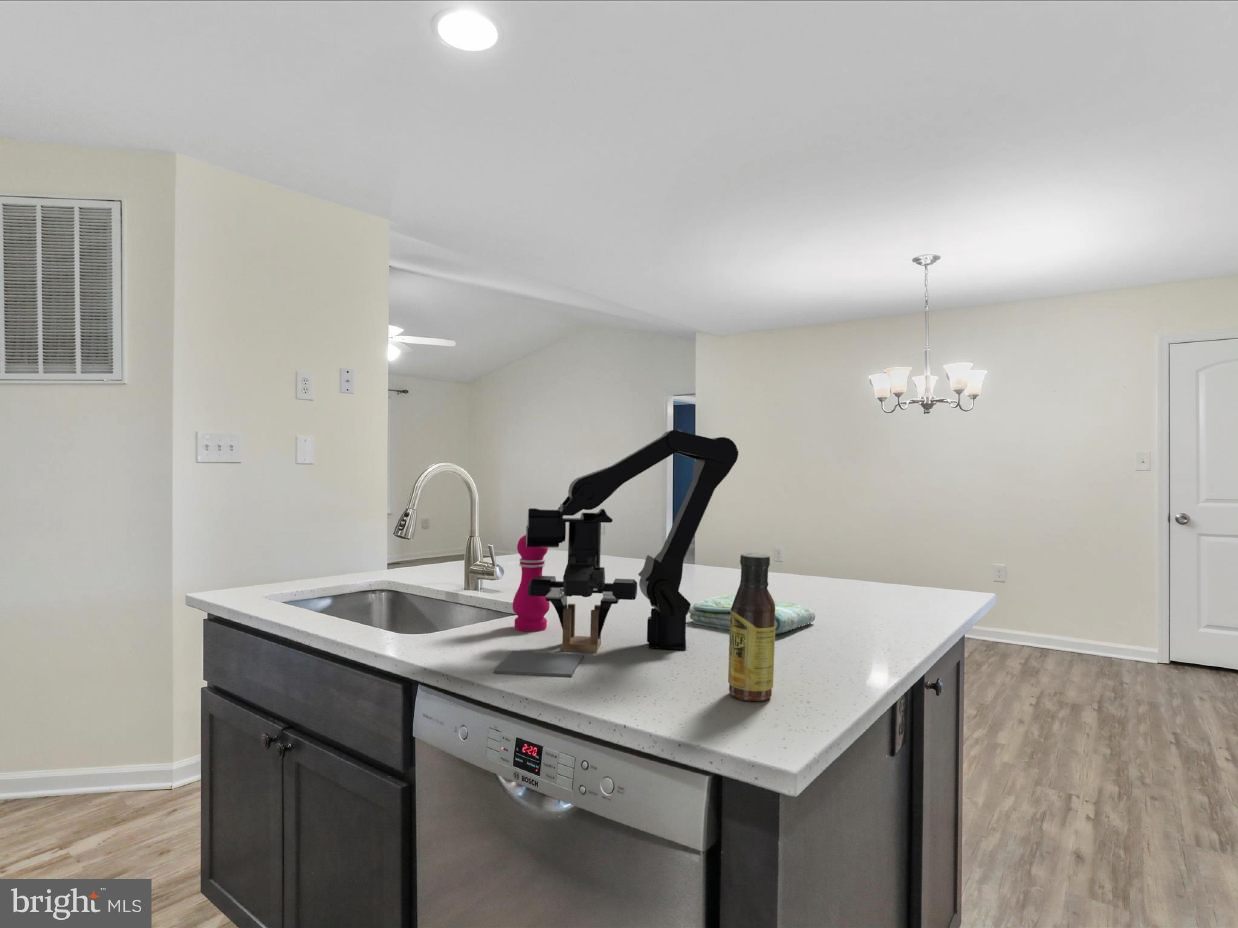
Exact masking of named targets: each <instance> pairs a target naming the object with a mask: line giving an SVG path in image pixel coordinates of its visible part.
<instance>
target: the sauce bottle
mask: <svg viewBox="0 0 1238 928" xmlns="http://www.w3.org/2000/svg"><path fill="white" fill-rule="evenodd" d="M739 559H740V560H739V563H740V567H741V568H740V581H739V586H738V588H737V590H736V594H735V595H734V596H735V599H734V602H733V605H732V607H731V614H730V630H729V636H728V637H729V640H728V641H729V646H728V673H727V675H728V676H727V677H728V678H727V682H728V684H729V686H728V691H729V694H730V695H731V696H732V697H734V698H737V699H738V700H741V701H747V702H761V701H762V702H763V701H767V700H770V699H771V697H772V695H773V691H772V690H773V687H774V674H775V673H774V672H775V667H774V666H775V645H776V644H775V643H776V634H775V603H774V601H775V600H774V598H773V596H772V594H771V593H770V591H769V589H768V586H769V567H770V565H771V556H770V555H768V554H766V553H759V552H757V553H756V552H744V553H742V554H740V557H739Z"/></svg>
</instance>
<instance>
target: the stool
mask: <svg viewBox="0 0 1238 928" xmlns="http://www.w3.org/2000/svg"><path fill="white" fill-rule="evenodd" d="M599 613H600V604H594V609H591V610H590V628H589V629H590V634H589V635H590V636H586V635H585V636H583V635H582V636H581V635H575V631H576V628H575V627H576V603H567V609H564V610H563V629H562V646H561V649H562V650H561V651H562V652H563V651H564V652H581V653H582V652H583V653H598V651H599V648H600V646H601V644H602V634H601V635H600V637H599V638H598V620H599Z"/></svg>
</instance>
